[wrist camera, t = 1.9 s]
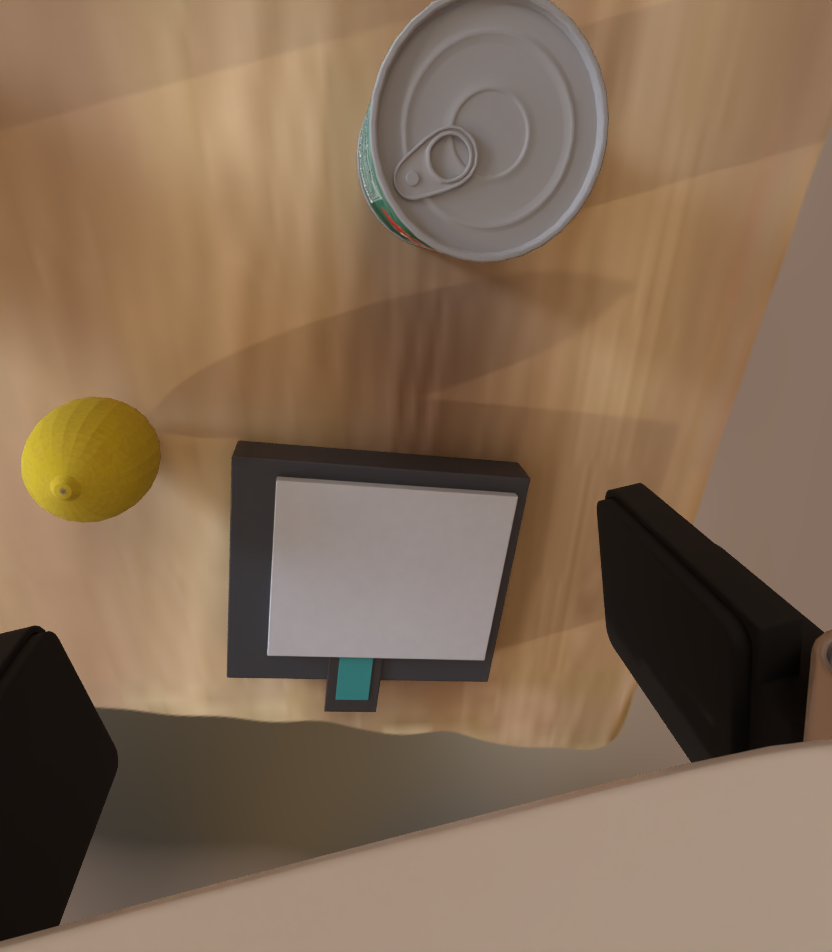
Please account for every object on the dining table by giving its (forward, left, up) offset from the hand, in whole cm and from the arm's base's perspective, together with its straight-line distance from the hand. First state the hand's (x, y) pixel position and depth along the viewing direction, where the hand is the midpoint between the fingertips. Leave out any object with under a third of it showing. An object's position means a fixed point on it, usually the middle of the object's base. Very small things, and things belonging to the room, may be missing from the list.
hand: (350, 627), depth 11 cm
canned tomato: (+4, +10, -24) cm, 27 cm away
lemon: (-11, -5, -24) cm, 27 cm away
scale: (+3, -13, -24) cm, 28 cm away
